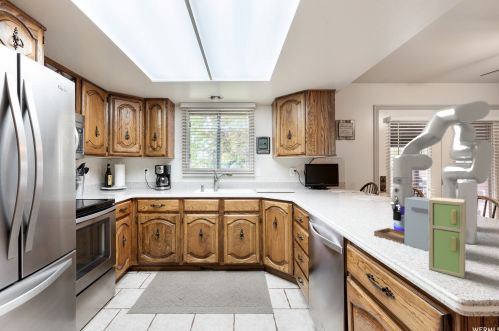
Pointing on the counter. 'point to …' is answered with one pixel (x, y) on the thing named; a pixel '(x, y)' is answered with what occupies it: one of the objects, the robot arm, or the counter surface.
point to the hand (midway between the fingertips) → (402, 219)
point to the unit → (417, 222)
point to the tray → (391, 234)
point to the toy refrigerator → (447, 236)
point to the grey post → (468, 207)
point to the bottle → (400, 224)
